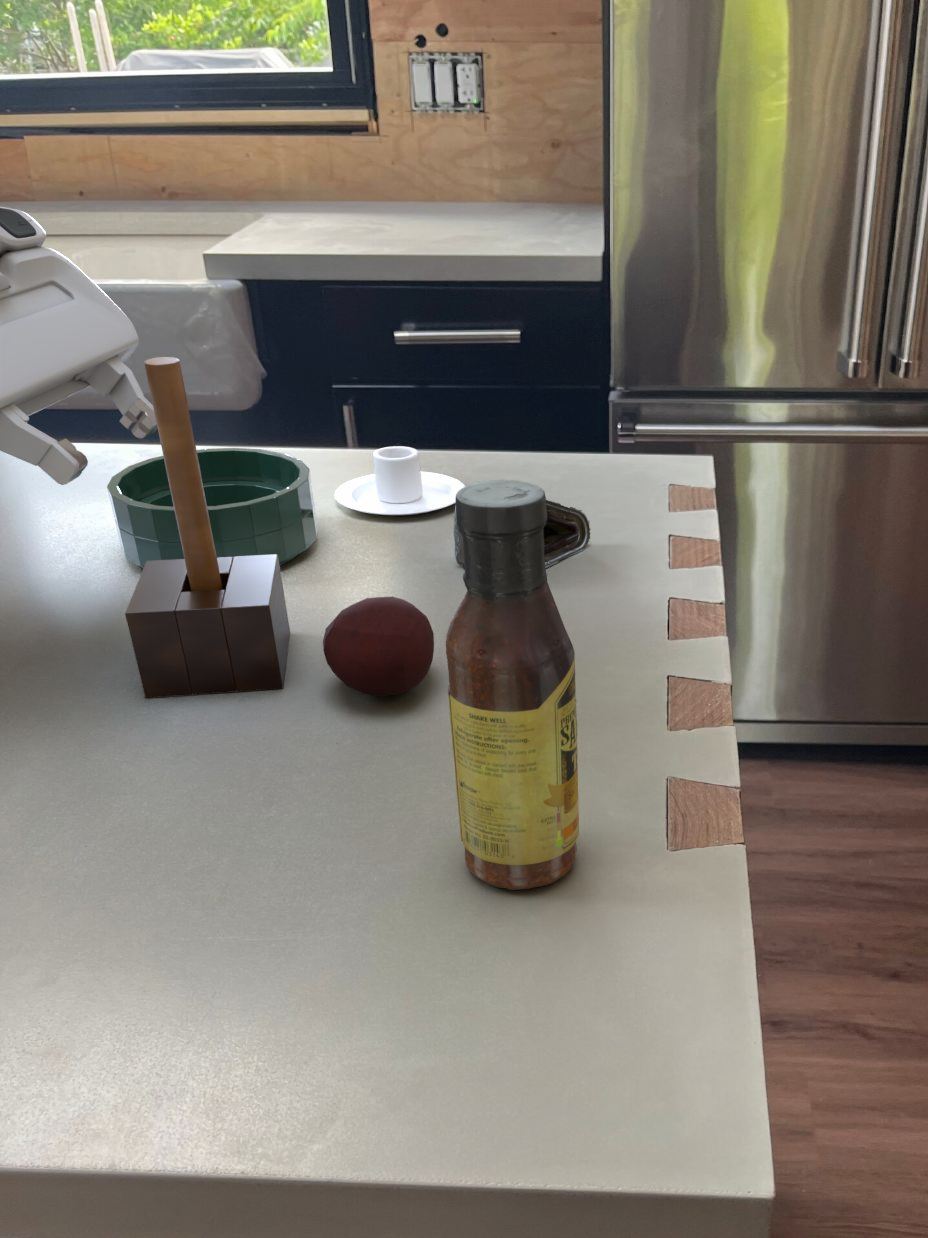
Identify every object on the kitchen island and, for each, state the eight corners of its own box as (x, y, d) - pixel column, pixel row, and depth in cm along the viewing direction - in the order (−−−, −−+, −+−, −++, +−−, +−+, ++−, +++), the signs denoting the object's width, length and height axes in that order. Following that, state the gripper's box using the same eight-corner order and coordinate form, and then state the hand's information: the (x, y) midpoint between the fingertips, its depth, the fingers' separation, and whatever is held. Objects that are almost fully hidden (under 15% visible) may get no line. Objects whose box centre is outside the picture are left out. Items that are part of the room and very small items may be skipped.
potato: (301, 703, 77) (288, 618, 74) (368, 651, 83) (359, 571, 80) (400, 725, 75) (390, 638, 71) (461, 670, 81) (455, 588, 78)
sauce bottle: (592, 885, 61) (592, 512, 50) (474, 905, 60) (446, 526, 49) (562, 817, 66) (555, 465, 55) (451, 834, 65) (422, 476, 54)
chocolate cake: (535, 528, 105) (444, 451, 96) (596, 522, 101) (507, 441, 91) (504, 625, 103) (408, 556, 94) (566, 624, 99) (471, 551, 89)
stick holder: (145, 698, 77) (124, 613, 74) (164, 640, 84) (146, 560, 81) (283, 689, 79) (269, 605, 75) (290, 632, 86) (277, 553, 82)
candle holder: (493, 498, 110) (491, 451, 108) (394, 532, 102) (389, 483, 100) (408, 470, 116) (404, 425, 114) (308, 500, 109) (302, 453, 106)
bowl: (109, 590, 92) (90, 514, 88) (140, 519, 104) (125, 451, 101) (315, 579, 94) (304, 505, 91) (321, 511, 107) (312, 444, 103)
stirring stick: (204, 671, 81) (141, 365, 69) (208, 658, 82) (146, 357, 71) (235, 669, 81) (176, 364, 70) (237, 656, 83) (181, 356, 71)
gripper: (-185, 259, 59) (50, 468, 63) (42, 208, 75) (215, 375, 80) (-231, 350, 62) (-4, 543, 66) (-3, 281, 78) (166, 439, 83)
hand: (117, 451), depth 73 cm, fingers open, 8 cm apart
